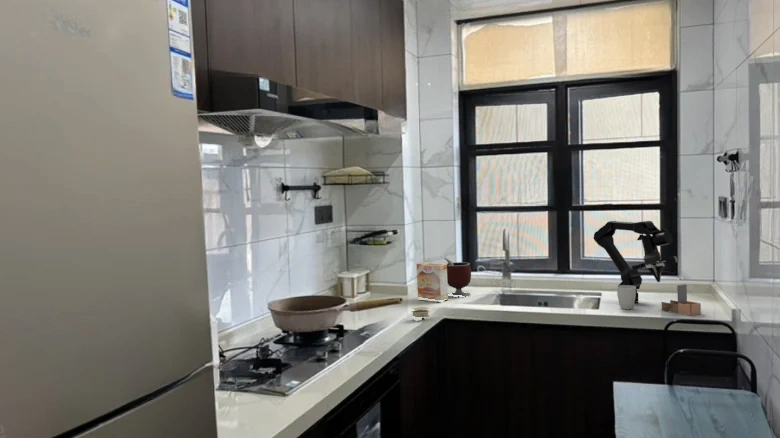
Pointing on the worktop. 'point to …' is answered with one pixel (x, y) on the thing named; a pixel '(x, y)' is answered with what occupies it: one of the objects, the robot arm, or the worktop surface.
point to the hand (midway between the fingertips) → (658, 282)
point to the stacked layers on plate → (420, 312)
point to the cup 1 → (626, 296)
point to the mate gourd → (458, 276)
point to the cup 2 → (689, 308)
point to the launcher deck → (670, 306)
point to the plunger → (682, 293)
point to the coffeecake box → (432, 280)
